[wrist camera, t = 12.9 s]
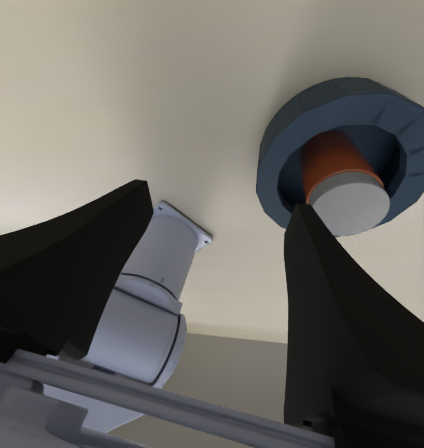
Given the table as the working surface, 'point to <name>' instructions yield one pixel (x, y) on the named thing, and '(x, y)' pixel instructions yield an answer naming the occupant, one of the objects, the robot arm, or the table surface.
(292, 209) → the dark blue bowl
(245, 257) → the table surface
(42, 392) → the robot arm
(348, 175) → the shaker
